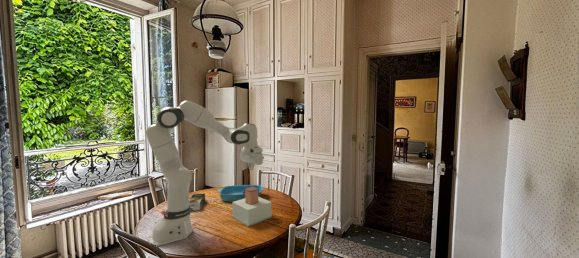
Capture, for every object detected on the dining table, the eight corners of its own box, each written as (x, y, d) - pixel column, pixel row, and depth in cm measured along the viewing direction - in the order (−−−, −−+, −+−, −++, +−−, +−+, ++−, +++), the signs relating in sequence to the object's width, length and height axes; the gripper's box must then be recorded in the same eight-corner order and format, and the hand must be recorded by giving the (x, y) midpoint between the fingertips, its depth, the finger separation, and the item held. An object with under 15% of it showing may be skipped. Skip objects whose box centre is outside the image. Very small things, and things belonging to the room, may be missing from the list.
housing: (248, 226, 139) (247, 210, 139) (231, 217, 153) (231, 202, 152) (272, 216, 152) (272, 202, 152) (255, 208, 166) (255, 194, 165)
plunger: (250, 209, 148) (250, 191, 147) (245, 206, 152) (244, 188, 151) (258, 206, 152) (258, 188, 151) (253, 203, 156) (252, 186, 156)
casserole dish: (214, 203, 177) (214, 194, 176) (222, 193, 199) (221, 185, 199) (263, 202, 178) (263, 193, 178) (265, 192, 201) (265, 184, 200)
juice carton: (200, 210, 163) (200, 202, 163) (185, 212, 162) (185, 203, 161) (205, 200, 183) (205, 193, 183) (192, 201, 182) (192, 194, 181)
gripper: (237, 147, 155) (238, 168, 156) (256, 150, 140) (256, 173, 141) (245, 146, 159) (246, 166, 160) (264, 149, 144) (264, 171, 145)
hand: (251, 169), depth 150 cm, fingers closed
